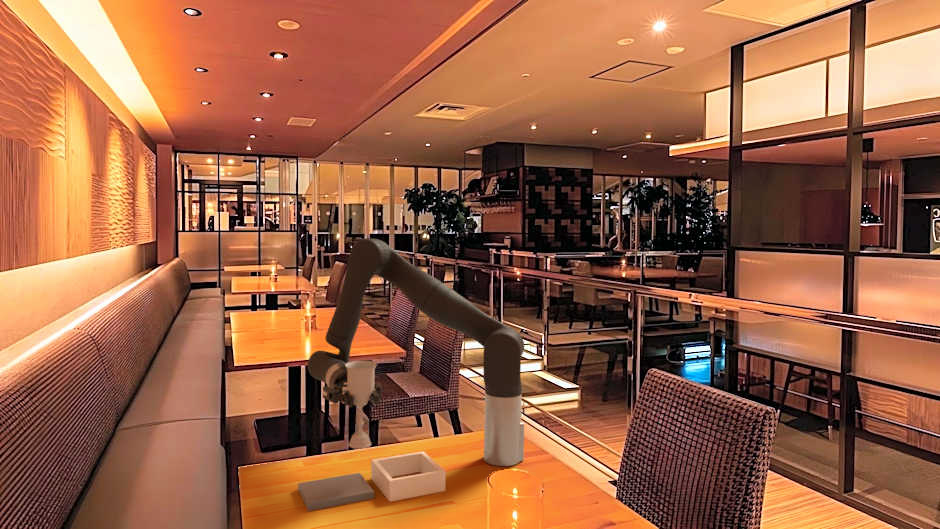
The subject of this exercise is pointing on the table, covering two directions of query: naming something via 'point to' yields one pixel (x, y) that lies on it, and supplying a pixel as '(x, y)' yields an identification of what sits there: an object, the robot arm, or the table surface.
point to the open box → (408, 485)
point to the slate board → (335, 491)
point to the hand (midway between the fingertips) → (364, 401)
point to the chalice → (360, 396)
